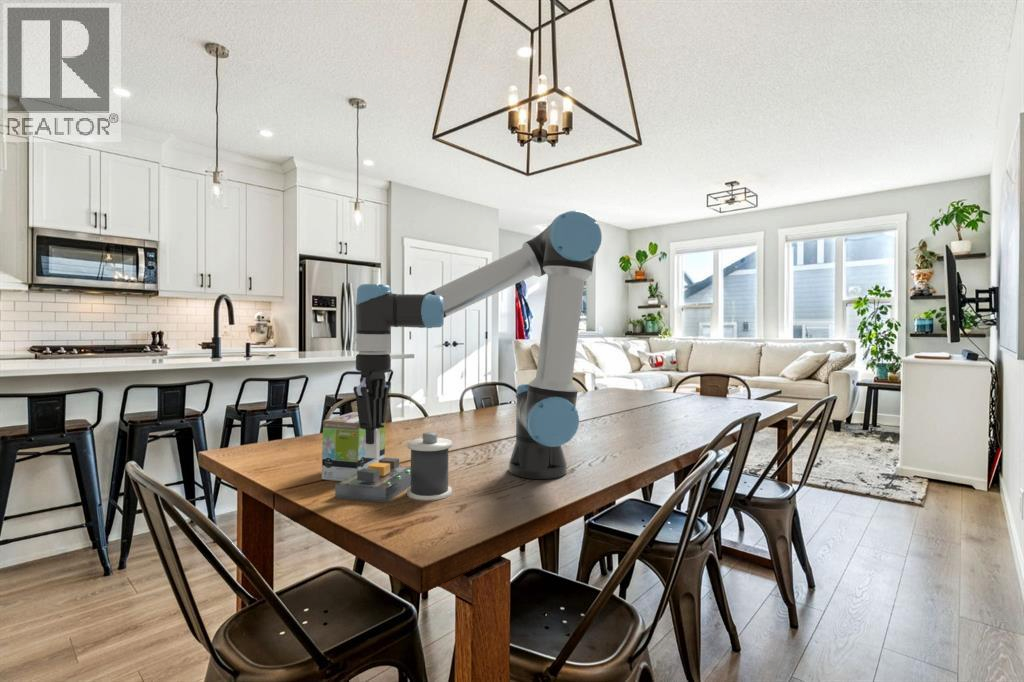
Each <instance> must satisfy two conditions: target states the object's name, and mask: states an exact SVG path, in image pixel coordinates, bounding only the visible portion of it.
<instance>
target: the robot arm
mask: <svg viewBox="0 0 1024 682" xmlns="http://www.w3.org/2000/svg"><path fill="white" fill-rule="evenodd" d="M602 236H603V235H602V230H601V226H600V224H598V222H597V220H596V219H595V218H594V217H593V216H592V215H590V214H589V213H587V212H585V211H581V210H569V211H566V212H564V213H561V214H559V215H558V216H556V217H555V218H554V219H553V221H551V223H550V224H549V225H548V226H547V227H546V228H544V230H542V231H541V232H540V233H539V234H537V235H536V236H535V237H533V238H532V239H531V238H530V239H529V240H527V241H525V242H523V244H522V246H521V248H520V249H517V250H515V251H513V252H511V253H509V254H506V255H505V256H503V257H499V258H498V259H495V260H494V261H492V262H490V263H488V264H486V265H483V266H481V267H479V268H477V269H475V270H473V271H471V272H468V273H467V274H464V275H462V276H460V277H458V278H455V279H454V280H452V281H450V282H448V283H445V284H443V285H441V286H438V287H437V288H435V289H433V290H431V291H428V292H425V293H423V294H419V293H418V294H412V293H411V294H405V293H404V294H403V293H402V294H401V293H400V294H398V293H393V292H392V288H391V286H390V285H389V284H381V283H380V284H378V283H362V284H359V286H358V287H357V288H356V301H355V302H356V303H355V330H356V331H355V333H356V336H355V343H356V344H355V345H356V347H355V350H356V351H355V352H358V353H357V354H356V355H355V369H356V370H355V371H358V372H360V376H359V377H360V378H359V382H360V383H359V384H358V386H356V385H354V387H353V389H352V390H353V393H354V396H355V401H356V402H355V403H356V409H357V412H358V418H359V426H360V428H361V429H365V430H366V451H365V458H375V459H376V458H378V457H380V428H384V426H385V427H386V422H385V420H386V419H387V409H388V399H389V393H390V389H391V385H392V383H391V381H389V380H388V381H387V380H386V373H385V372H388V371H390V369H391V355H390V354H389V352H391V349H392V348H391V346H392V345H391V339H392V337H391V330H392V328H419V329H425V328H426V329H433V328H442V327H443V326H444V320H445V318H447V317H449V316H451V315H453V314H455V313H457V312H459V311H461V310H463V309H466V308H468V307H470V306H472V305H474V304H477V303H478V302H480V301H482V300H484V299H487V298H489V297H491V296H493V295H495V294H497V293H499V292H502V291H504V290H506V289H507V288H510V287H512V286H514V285H516V284H519V283H520V282H523V281H524V280H527V279H529V278H531V277H534V276H535V277H538V278H540V277H542V276H544V275H546V276H547V284H546V292H545V298H544V299H545V300H544V309H543V315H542V325H541V332H540V339H539V340H540V341H539V342H540V343H539V348H538V355H537V357H538V358H537V364H536V373H535V377H534V378H533V379H532V380H531V381H530V382H528V383H526V384H524V383H522V384H519V385H517V387H516V394H515V399H516V405H515V406H516V408H515V409H516V413H515V415H516V418H515V419H516V420H515V423H516V424H515V443H514V447H513V448H512V449H513V450H512V453H511V455H510V458H509V462H508V472H509V473H510V474H511V475H513V476H514V477H515V476H516V477H519V478H524V479H531V480H550V479H556V478H560V477H563V476H565V475H566V474H567V461H566V460H567V459H566V458H565V454H564V450H563V447H562V446H563V445H566V444H567V443H568V442H570V441H571V440H572V439H573V437H575V435H576V434H577V431H578V430H579V424H580V418H579V412H578V410H577V409H578V408H576V406H577V398H578V392H579V391H578V390H579V389H578V388H577V386H576V385H575V384H574V383H573V378H574V376H573V375H574V368H575V363H576V362H575V361H576V354H577V353H576V352H577V345H578V336H579V328H580V322H581V321H580V320H581V313H582V312H581V311H582V303H583V297H584V287H585V281H586V279H588V278H589V277H590V276H591V275H592V274H593V267H594V261H595V256H596V254H597V253H598V251H599V249H600V246H601V245H602V239H603V237H602ZM382 423H385V425H382Z"/></svg>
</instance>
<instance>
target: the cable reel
mask: <svg viewBox="0 0 1024 682" xmlns="http://www.w3.org/2000/svg"><path fill="white" fill-rule="evenodd" d="M406 443H407V444H406V445H407V447H406V448H407V449H409V450H410V468H411V486H409V487H408V488H407V489H406V496H407V497H408V498H410V499H411V500H416V501H424V502H428V501H432V502H433V501H438V500H443V499H447V498H448V497H450V496H451V495H452V491H453V489H452V487H451V486H450V485H449V452H450V451H449V449H450V448H452V447H453V441H452V440H450V439H448V438H444V437H438V433H437V432H435V431H434V432H433V431H428V432H427V431H426V432H423V433H422V437H421V438H414V439H411V440H409V441H407V442H406Z"/></svg>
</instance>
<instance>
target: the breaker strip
mask: <svg viewBox="0 0 1024 682" xmlns="http://www.w3.org/2000/svg"><path fill="white" fill-rule="evenodd" d="M366 469H368V468H366ZM410 487H411V466H399V467H398V468H396V469H395V470H392V469H390V473H388V474H386V475H384V476H379V479H378V480H376V481H374V482H369V481H358V480H357V474H355V475H353V476H351V477H349V478H347V479H345V480H343V481H338V483H336V484H335V487H334V491H335V492H334V493H335V494H334V496H335V499H340V500H350V501H361V502H362V501H363V502H371V503H381V504H382V503H383V504H386V503H389V502H390V501H391V500H392V499H394V498H395V497H397V496H398V495H399V494H401V493H403V491H405V490H407V489H408V488H410Z"/></svg>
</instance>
